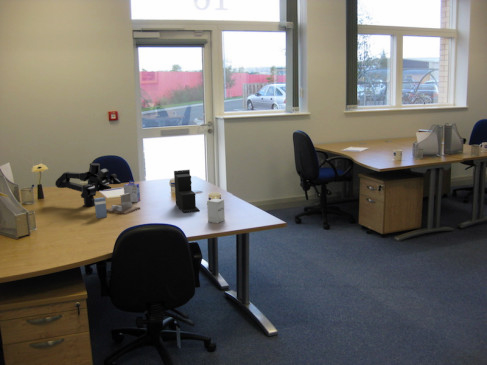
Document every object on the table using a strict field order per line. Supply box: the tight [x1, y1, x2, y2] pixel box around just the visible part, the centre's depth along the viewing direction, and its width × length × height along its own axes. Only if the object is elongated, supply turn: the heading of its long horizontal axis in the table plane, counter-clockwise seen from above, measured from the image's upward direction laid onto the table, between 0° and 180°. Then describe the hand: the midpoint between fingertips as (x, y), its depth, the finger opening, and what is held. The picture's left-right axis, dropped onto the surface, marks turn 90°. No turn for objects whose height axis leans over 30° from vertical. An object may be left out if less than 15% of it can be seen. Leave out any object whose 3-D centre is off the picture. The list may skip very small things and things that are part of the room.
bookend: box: [173, 169, 201, 214], centre depth 302 cm, size 23×11×24 cm, turn 20°
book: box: [94, 196, 108, 219], centre depth 287 cm, size 3×6×12 cm, turn 120°
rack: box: [106, 193, 141, 215], centre depth 303 cm, size 18×14×11 cm
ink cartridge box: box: [123, 180, 141, 203], centre depth 325 cm, size 10×6×14 cm, turn 83°
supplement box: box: [206, 198, 226, 224], centre depth 271 cm, size 7×7×13 cm
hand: (115, 185), depth 304 cm, fingers open, 9 cm apart
